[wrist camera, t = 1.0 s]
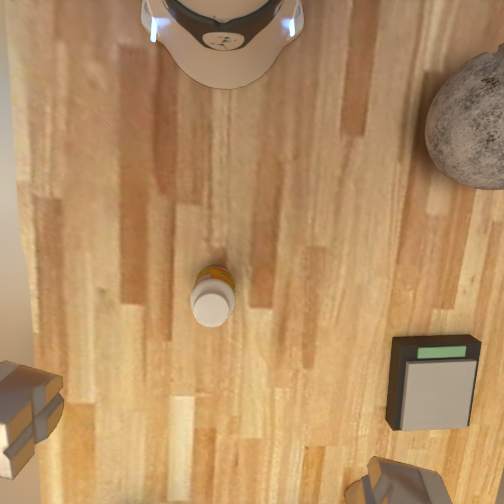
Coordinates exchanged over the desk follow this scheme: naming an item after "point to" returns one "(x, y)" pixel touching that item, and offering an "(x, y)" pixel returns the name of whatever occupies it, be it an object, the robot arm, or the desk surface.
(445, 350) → the scale
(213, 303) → the supplement bottle
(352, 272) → the desk surface
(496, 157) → the decorative orb
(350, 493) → the candle
